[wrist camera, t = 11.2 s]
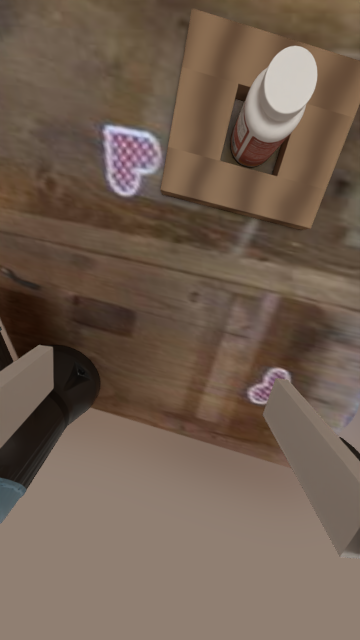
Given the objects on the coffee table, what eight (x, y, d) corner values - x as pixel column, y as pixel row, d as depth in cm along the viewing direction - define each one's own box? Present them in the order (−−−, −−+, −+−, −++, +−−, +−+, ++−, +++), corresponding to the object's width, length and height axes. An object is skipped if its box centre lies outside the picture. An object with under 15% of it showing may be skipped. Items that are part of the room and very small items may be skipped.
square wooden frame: (162, 194, 31) (160, 189, 29) (191, 30, 26) (192, 8, 23) (301, 230, 32) (310, 228, 30) (357, 81, 27) (374, 65, 24)
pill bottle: (283, 140, 29) (341, 77, 18) (250, 178, 30) (286, 140, 20) (253, 102, 28) (297, 10, 17) (220, 144, 29) (241, 83, 19)
